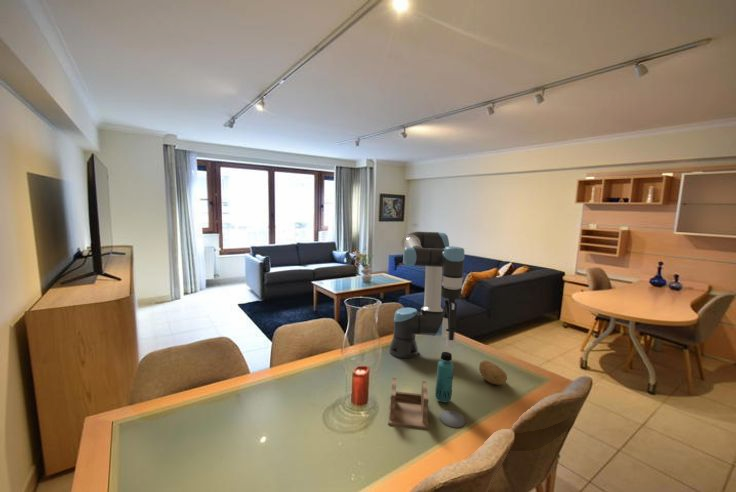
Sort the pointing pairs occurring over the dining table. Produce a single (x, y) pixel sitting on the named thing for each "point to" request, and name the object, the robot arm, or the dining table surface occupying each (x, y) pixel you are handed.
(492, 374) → the potato
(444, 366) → the beverage bottle
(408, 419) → the holder
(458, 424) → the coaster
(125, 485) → the dining table surface
